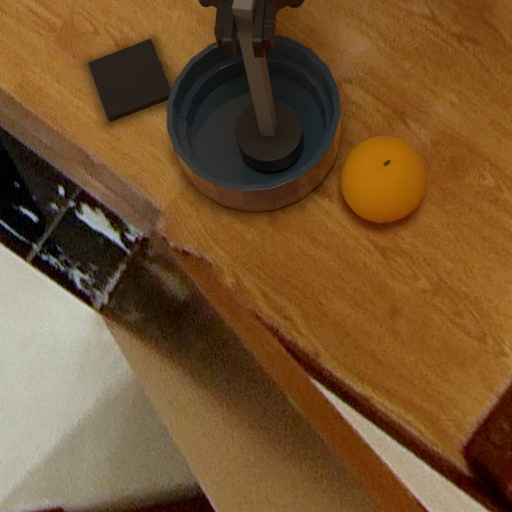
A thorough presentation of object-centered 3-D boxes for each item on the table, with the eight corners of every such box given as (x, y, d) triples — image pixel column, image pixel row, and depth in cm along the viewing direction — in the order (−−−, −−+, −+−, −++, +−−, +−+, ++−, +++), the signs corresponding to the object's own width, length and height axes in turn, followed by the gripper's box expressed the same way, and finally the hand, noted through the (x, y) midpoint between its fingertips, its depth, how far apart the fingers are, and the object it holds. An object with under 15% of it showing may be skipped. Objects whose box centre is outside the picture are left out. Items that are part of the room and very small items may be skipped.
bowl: (304, 41, 88) (301, 8, 82) (365, 176, 83) (367, 151, 77) (157, 98, 88) (144, 69, 82) (209, 237, 83) (199, 216, 77)
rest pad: (152, 42, 90) (150, 38, 89) (173, 97, 88) (172, 94, 87) (89, 66, 90) (87, 62, 89) (109, 122, 88) (107, 118, 87)
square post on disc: (309, 115, 84) (295, -34, 61) (297, 176, 82) (279, 45, 60) (245, 107, 85) (208, -43, 62) (232, 166, 83) (190, 34, 60)
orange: (332, 164, 84) (330, 131, 77) (411, 146, 84) (417, 111, 76) (350, 239, 81) (351, 213, 74) (432, 222, 81) (440, 193, 74)
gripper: (165, -182, 64) (138, 22, 59) (349, -186, 62) (338, 24, 58) (183, -112, 71) (161, 75, 66) (349, -114, 70) (339, 79, 65)
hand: (243, 51), depth 62 cm, fingers closed on square post on disc, 1 cm apart
